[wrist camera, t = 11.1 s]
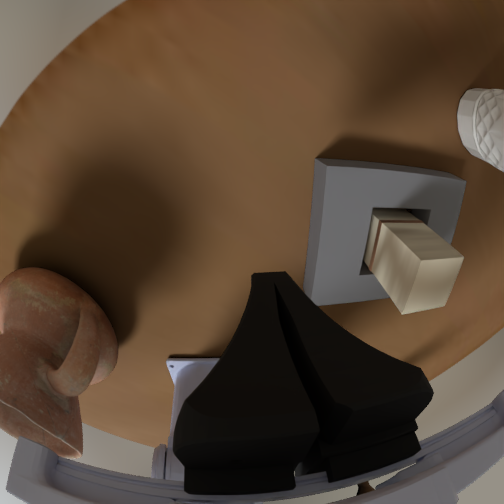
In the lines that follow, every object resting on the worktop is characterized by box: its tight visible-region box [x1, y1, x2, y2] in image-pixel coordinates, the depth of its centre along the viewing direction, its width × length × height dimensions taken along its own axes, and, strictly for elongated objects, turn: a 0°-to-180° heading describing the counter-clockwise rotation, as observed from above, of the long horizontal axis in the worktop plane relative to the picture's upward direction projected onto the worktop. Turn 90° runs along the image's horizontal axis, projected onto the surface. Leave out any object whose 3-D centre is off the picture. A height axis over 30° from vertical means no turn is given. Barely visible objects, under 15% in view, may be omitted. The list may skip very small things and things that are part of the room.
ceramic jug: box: [0, 267, 118, 459], centre depth 17 cm, size 18×14×14 cm
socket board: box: [303, 158, 466, 306], centre depth 20 cm, size 11×13×2 cm
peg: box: [363, 208, 464, 314], centre depth 18 cm, size 4×4×8 cm
